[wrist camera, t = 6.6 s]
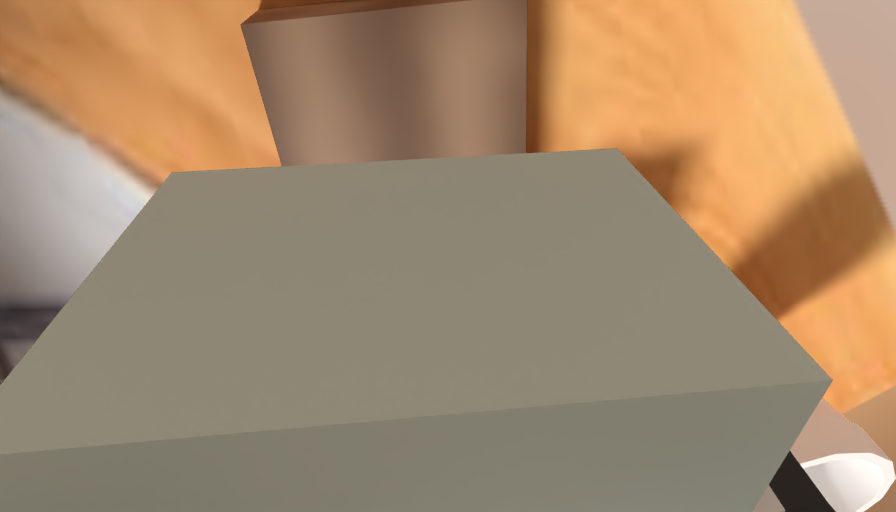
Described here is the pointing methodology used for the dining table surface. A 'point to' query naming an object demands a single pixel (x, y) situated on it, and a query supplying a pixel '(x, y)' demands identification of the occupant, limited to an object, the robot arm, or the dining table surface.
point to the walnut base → (392, 79)
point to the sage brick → (407, 351)
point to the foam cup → (842, 460)
